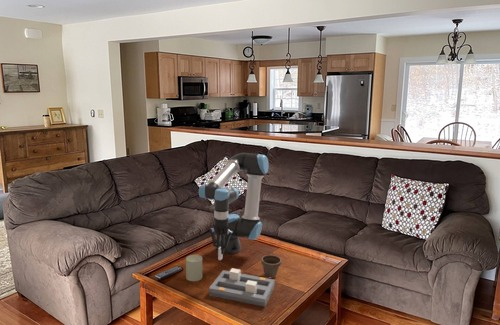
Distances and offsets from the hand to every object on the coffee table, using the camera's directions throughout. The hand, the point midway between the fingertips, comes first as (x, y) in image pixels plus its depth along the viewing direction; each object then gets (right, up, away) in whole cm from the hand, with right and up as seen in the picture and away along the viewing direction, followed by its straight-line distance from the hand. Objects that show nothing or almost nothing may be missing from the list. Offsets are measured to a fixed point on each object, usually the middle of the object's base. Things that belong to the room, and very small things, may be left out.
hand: (220, 259), depth 203 cm
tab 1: (+8, -12, 0) cm, 14 cm away
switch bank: (+12, -15, -5) cm, 20 cm away
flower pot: (+28, -13, +12) cm, 33 cm away
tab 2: (+17, -15, -11) cm, 25 cm away
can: (-15, -12, +7) cm, 21 cm away
